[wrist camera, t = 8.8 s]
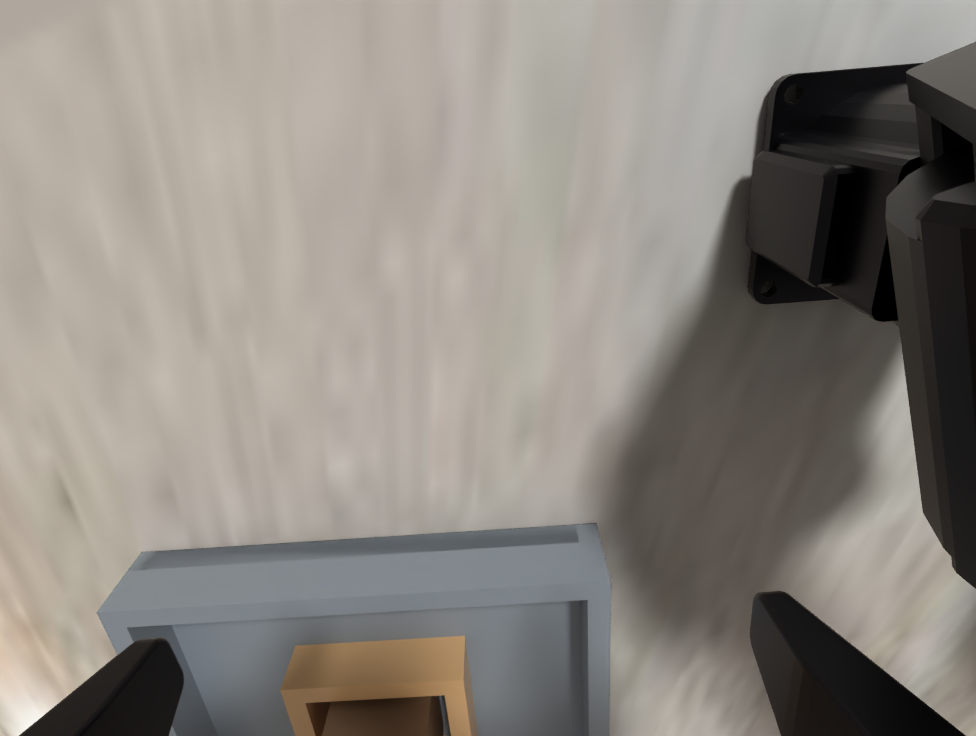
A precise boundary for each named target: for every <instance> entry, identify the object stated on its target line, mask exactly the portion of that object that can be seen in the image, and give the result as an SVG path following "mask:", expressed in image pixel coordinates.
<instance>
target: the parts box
mask: <svg viewBox="0 0 976 736" xmlns="http://www.w3.org/2000/svg"><path fill="white" fill-rule="evenodd" d="M97 614H98V616H99V618H100V620H101V622H102V624H103V627H104V629H105V631H106V633H107V635H108V637H109V639H110V641H111V643H112V645H113V647H114V649H115V651H116V653H117V655H118V654H120V653H121V652H122V651H123V650H124V649H126V648H127V647H128V646H129V645H131V644H132V643H133V642H135V641H137V640H139V639H144V638H157V637H162V638H165V639H166V640H168V641H169V643H170V645H171V647H172V649H173V651H174V653H175V655H176V657H177V659H178V661H179V664H180V666H181V668H182V670H183V673H184V686H183V691H182V694H181V697H180V701H179V704H178V707H177V710H176V714H175V717H174V720H173V724H172V727H171V730H170V734H169V736H322V734H323V730H324V726H325V722H326V718H327V714H328V710H329V706H330V702H332V701H351V700H369V699H387V698H405V697H423V696H439V698H440V705H441V711H442V717H443V723H444V731H443V736H609V698H610V620H611V579H610V575H609V571H608V567H607V564H606V560H605V556H604V552H603V548H602V544H601V540H600V536H599V532H598V528H597V524H596V523H594V524H578V525H562V526H547V527H531V528H515V529H499V530H484V531H468V532H452V533H437V534H421V535H405V536H390V537H374V538H358V539H342V540H327V541H311V542H295V543H280V544H264V545H248V546H233V547H217V548H201V549H185V550H170V551H154V552H141V553H140V555H139V556H138V558H137V559H136V560H135V562H134V563H133V564H132V566H131V567H130V568H129V570H128V571H127V572H126V574H125V575H124V576H123V578H122V579H121V580H120V582H119V583H118V584H117V586H116V587H115V588H114V590H113V591H112V593H111V594H110V595H109V597H108V598H107V599H106V601H105V602H104V603H103V605H102V606H101V607H100V609H99V610H98V611H97Z"/></svg>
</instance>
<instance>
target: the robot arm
mask: <svg viewBox="0 0 976 736" xmlns="http://www.w3.org/2000/svg"><path fill="white" fill-rule="evenodd" d="M791 85H793V86H794V87H795V88H796V96H795V99H794V100H793V101H792V102H791V103H789V104H787V102H786V101H785V99H784V94H785V91H786V89H787V88H788V87H789V86H791ZM746 244H747V245H748V246H749V247H750V248H751V249H752V251H751V260H750V269H749V278H748V293H749V294H750V296H751V297H752V298H753V299H755V300H756V301H758V302H759V303H761V304H777V303H791V302H804V301H818V300H831V299H841V300H843V301H844V302H846V303H848V304H849V305H851V306H853V307H854V308H856V309H858V310H859V311H861V312H863V313H864V314H866V315H868V316H869V317H871V318H873V319H875V320H876V321H882V322H886V321H891V322H893V323H895V324H896V325H898V326H899V329H900V336H901V344H902V352H903V360H904V368H905V376H906V383H907V391H908V399H909V407H910V415H911V422H912V430H913V438H914V446H915V454H916V462H917V469H918V477H919V485H920V493H921V501H922V508H923V513H924V515H925V517H926V518H927V520H928V522H929V524H930V525H931V527H932V529H933V531H934V532H935V534H936V536H937V537H938V539H939V541H940V543H941V544H942V546H943V548H944V549H945V550H946V551H947V552H948V553H949V554H950V555H951V558H952V567H953V568H954V570H955V571H956V573H957V574H959V575H960V576H961V577H962V578H963V579H965V580H966V581H967V582H968V583H970V584H971V585H972V586H973V587H974V588H976V42H974V43H972V44H969V45H967V46H965V47H962V48H960V49H957V50H955V51H952V52H950V53H947V54H945V55H943V56H940V57H938V58H935V59H933V60H930V61H928V62H926V63H915V64H904V65H892V66H880V67H869V68H857V69H845V70H833V71H822V72H810V73H798V74H789V75H785V76H782V77H781V78H779V79H778V80H777V81H776V82H775V83H774V84H773V86H772V87H771V90H770V93H769V98H768V107H767V116H766V125H765V134H764V143H763V151H761V152H760V154H759V155H758V156H757V157H756V158H755V160H754V164H753V174H752V183H751V193H750V202H749V212H748V221H747V231H746ZM768 281H771V282H772V285H771V288H770V289H769V290H768V291H767V292H764V293H761V287H762V285H763V284H764V283H765V282H768ZM750 639H751V644H752V648H753V652H754V655H755V658H756V661H757V664H758V667H759V670H760V673H761V676H762V679H763V682H764V685H765V688H766V691H767V694H768V697H769V700H770V703H771V706H772V709H773V712H774V715H775V718H776V721H777V724H778V727H779V731H780V734H781V736H965V735H964V734H963V733H962V732H960V731H959V730H958V729H957V728H955V727H954V726H953V725H952V724H950V723H949V722H948V721H947V720H945V719H944V718H943V717H942V716H940V715H939V714H938V713H937V712H935V711H934V710H933V709H932V708H930V707H929V706H928V705H927V704H925V703H924V702H923V701H922V700H920V699H919V698H918V697H917V696H915V695H914V694H913V693H912V692H910V691H909V690H908V689H907V688H905V687H904V686H903V685H902V684H900V683H899V682H898V681H897V680H895V679H894V678H893V677H892V676H890V675H889V674H888V673H887V672H885V671H884V670H883V669H882V668H880V667H879V666H878V665H877V664H875V663H874V662H873V661H872V660H870V659H869V658H868V657H867V656H865V655H864V654H863V653H862V652H860V651H859V650H858V649H857V648H855V647H854V646H853V645H851V644H850V643H849V642H848V641H846V640H845V639H844V638H843V637H841V636H840V635H839V634H838V633H836V632H835V631H834V630H833V629H831V628H830V627H829V626H828V625H826V624H825V623H824V622H823V621H821V620H820V619H819V618H818V617H816V616H815V615H814V614H813V613H811V612H810V611H809V610H808V609H806V608H805V607H804V606H803V605H801V604H800V603H799V602H798V601H796V600H795V599H794V598H793V597H791V596H790V595H789V594H787V593H785V592H782V591H773V592H760V593H757V594H756V595H755V597H754V599H753V607H752V617H751V626H750ZM183 686H184V673H183V670H182V668H181V666H180V664H179V661H178V659H177V657H176V655H175V653H174V651H173V649H172V647H171V645H170V643H169V641H168V640H166V639H165V638H162V637H157V638H144V639H139V640H137V641H135V642H133V643H132V644H131V645H129V646H128V647H127V648H126V649H124V650H123V651H122V652H121V653H120V654H118V655H117V656H116V657H115V658H113V659H112V660H111V661H110V662H109V663H107V664H106V665H105V666H104V667H102V668H101V669H100V670H99V671H98V672H96V673H95V674H94V675H93V676H91V677H90V678H89V679H88V680H87V681H85V682H84V683H83V684H82V685H80V686H79V687H78V688H77V689H76V690H74V691H73V692H72V693H71V694H69V695H68V696H67V697H66V698H65V699H63V700H62V701H61V702H60V703H58V704H57V705H56V706H55V707H54V708H52V709H51V710H50V711H49V712H47V713H46V714H45V715H44V716H43V717H41V718H40V719H39V720H38V721H36V722H35V723H34V724H33V725H32V726H30V727H29V728H28V729H27V730H25V731H24V732H23V733H22V734H21V735H19V736H169V734H170V730H171V727H172V724H173V720H174V717H175V714H176V710H177V707H178V704H179V701H180V697H181V694H182V691H183Z"/></svg>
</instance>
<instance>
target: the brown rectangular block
mask: <svg viewBox="0 0 976 736" xmlns="http://www.w3.org/2000/svg"><path fill="white" fill-rule="evenodd" d="M443 731H444V723H443V717H442V711H441V705H440V698H439V696H423V697H405V698H387V699H369V700H351V701H332V702H330V706H329V710H328V714H327V718H326V722H325V726H324V730H323V734H322V736H443Z"/></svg>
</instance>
